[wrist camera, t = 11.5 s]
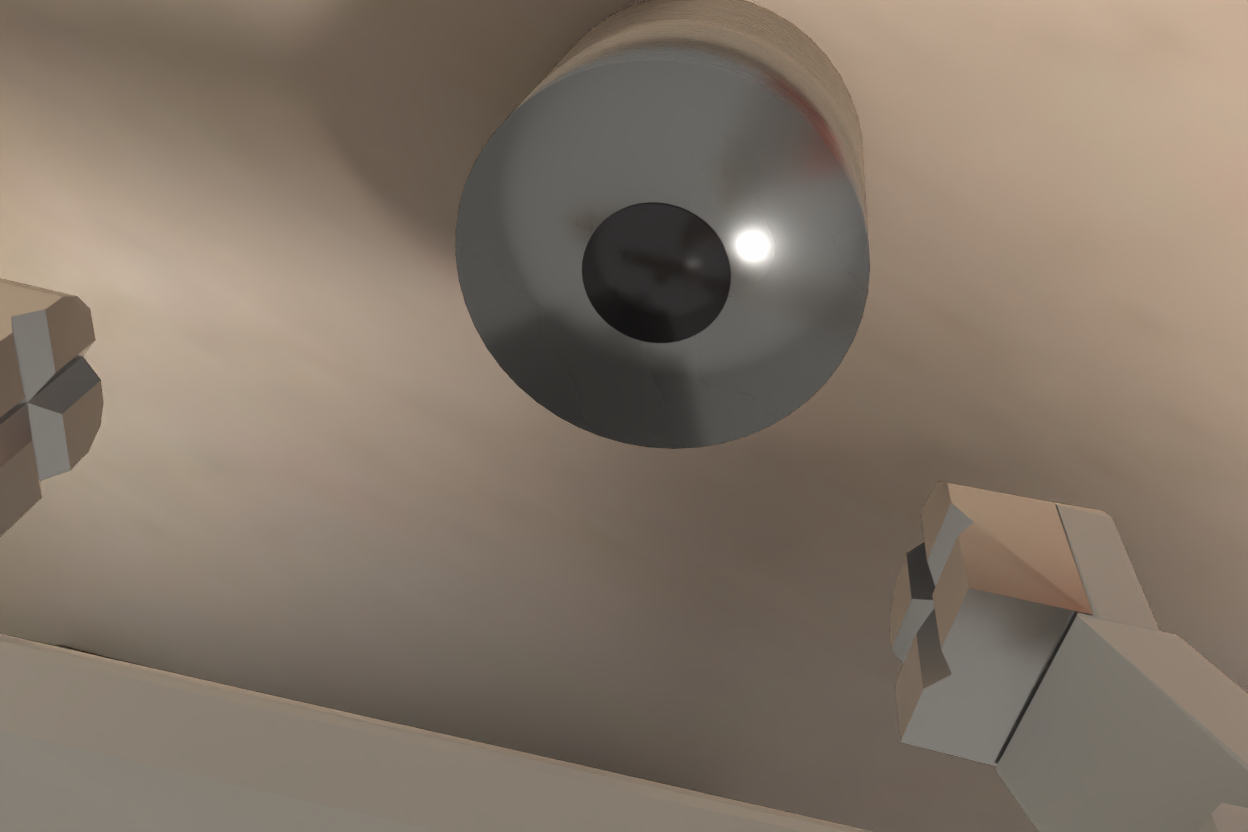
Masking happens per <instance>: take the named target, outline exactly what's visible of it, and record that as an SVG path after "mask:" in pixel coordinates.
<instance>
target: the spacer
mask: <svg viewBox="0 0 1248 832" xmlns="http://www.w3.org/2000/svg"><path fill="white" fill-rule="evenodd" d="M456 261H457V269H458V276H459V282H460V285H461V289H462V293H463V297H464V300H465V304H466V306H467V309H468V311H469V314H470V316H471V318H472V321H473V323H474V326H475V328H476V330H477V331H478V333H479V335H480V337H481V338H482V340H483V342H484V344H485V346H486V347H487V349H488V350H489V352H490V353H491V354H492V356H493V357H494V358H495V360H496V361H497V362H498V364H499V365H500V367H501V368H502V369H503V370H504V371H505V372H506V373H507V374H508V375H509V377H510V378H511V379H512V380H513V381H514V382H515V383H516V384H517V385H518V386H519V387H520V388H521V389H522V390H524V391H525V392H526V393H527V394H528V395H529V396H531V397H532V398H533V399H534V400H535V401H536V402H538V403H539V404H541V405H542V406H544V407H545V408H546V409H548V410H549V411H551V412H552V413H554V414H555V415H557V416H558V417H560V418H562V419H564V420H566V421H568V422H570V423H572V424H573V425H575V426H577V427H579V428H582V429H584V430H587V431H589V432H592V433H594V434H596V435H599V436H601V437H605V438H608V439H612V440H616V441H619V442H623V443H627V444H633V445H639V446H645V447H653V448H671V449H677V448H696V447H703V446H709V445H715V444H721V443H725V442H728V441H732V440H735V439H739V438H742V437H746V436H748V435H750V434H753V433H755V432H757V431H760V430H762V429H764V428H767V427H769V426H771V425H772V424H774V423H776V422H777V421H779V420H781V419H783V418H784V417H786V416H788V415H789V414H791V413H792V412H793V411H795V410H796V409H797V408H799V407H800V406H801V405H802V404H804V403H805V402H806V401H808V400H809V399H810V398H811V397H812V396H813V395H814V394H815V393H816V392H817V391H818V390H819V389H820V388H821V387H822V386H823V385H824V384H825V383H826V382H827V380H828V379H829V378H830V376H831V375H832V374H833V372H834V371H835V370H836V368H837V367H838V366H839V365H840V363H841V362H842V360H843V358H844V356H845V354H846V353H847V351H848V349H849V347H850V346H851V344H852V342H853V340H854V337H855V334H856V332H857V329H858V327H859V324H860V322H861V319H862V315H863V311H864V307H865V303H866V298H867V294H868V283H869V271H870V262H869V245H868V229H867V212H866V196H865V179H864V163H863V147H862V135H861V130H860V126H859V121H858V116H857V113H856V110H855V107H854V104H853V101H852V99H851V96H850V93H849V91H848V89H847V88H846V86H845V84H844V82H843V80H842V78H841V76H840V74H839V73H838V71H837V70H836V68H835V67H834V66H833V64H832V63H831V61H830V60H829V58H828V57H827V56H826V54H825V53H824V52H823V51H822V50H821V49H820V48H819V47H818V46H817V45H816V44H815V43H814V42H813V41H812V40H811V38H809V37H808V36H807V35H806V34H804V33H803V32H802V31H801V30H799V29H798V28H797V27H796V26H795V25H793V24H792V23H790V22H789V21H787V20H785V19H784V18H782V17H780V16H779V15H777V14H775V13H774V12H772V11H770V10H767V9H765V8H763V7H760V6H758V5H756V4H753V3H751V2H748V1H744V0H646V1H643V2H640V3H637V4H634V5H632V6H630V7H628V8H626V9H623V10H621V11H619V12H617V13H615V14H613V15H612V16H610V17H609V18H607V19H606V20H604V21H603V22H601V23H599V24H598V25H596V26H595V27H594V28H593V29H592V30H591V31H590V32H588V33H587V34H586V35H585V36H584V37H583V38H581V39H580V40H579V41H578V42H577V43H576V45H575V46H574V47H573V48H572V49H571V50H570V51H569V52H568V53H567V54H566V55H565V56H564V57H563V59H562V60H561V61H560V62H559V63H558V64H557V65H556V66H555V67H554V68H553V69H552V70H551V71H550V72H549V74H548V75H547V76H546V77H545V78H544V79H543V80H542V81H541V82H540V83H539V84H538V85H537V86H536V87H535V89H534V90H533V91H532V92H531V93H530V94H529V95H528V96H527V97H526V98H525V99H524V100H523V101H522V103H521V104H520V105H519V106H518V107H517V108H516V109H515V110H514V111H513V112H512V113H511V114H510V115H509V116H508V118H507V119H506V120H505V121H504V122H503V123H502V125H501V126H500V127H499V128H498V129H497V130H496V131H495V133H494V134H493V135H492V136H491V137H490V139H489V140H488V142H487V144H486V145H485V147H484V148H483V150H482V151H481V153H480V154H479V156H478V158H477V159H476V161H475V164H474V166H473V168H472V170H471V173H470V175H469V177H468V179H467V181H466V185H465V188H464V191H463V195H462V198H461V202H460V205H459V212H458V219H457V226H456Z"/></svg>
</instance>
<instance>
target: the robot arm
mask: <svg viewBox="0 0 1248 832" xmlns="http://www.w3.org/2000/svg"><path fill="white" fill-rule="evenodd" d="M94 341H95V334H94V328H93V323H92V317H91V311H90V308H89V307H88V306H87V305H86V304H85V303H84V302H83V301H82V300H81V299H80V298H79V297H78V296H74V295H69V294H65V293H61V292H57V291H52V290H48V289H44V288H39V287H35V286H31V285H27V284H22V283H18V282H14V281H9V280H5V279H1V278H0V537H1V536H2V535H3V534H4V533H5V532H6V531H7V530H8V529H9V528H10V527H11V526H13V525H14V524H15V523H16V522H17V521H18V520H19V519H20V518H21V517H22V516H23V515H24V514H25V513H26V512H27V511H28V510H29V509H30V508H31V507H33V506H34V505H35V504H36V503H37V502H38V501H39V500H40V499H41V498H42V495H41V482H40V481H41V480H43V479H46V478H49V477H52V476H55V475H58V474H61V473H64V472H67V471H70V470H71V469H72V468H73V467H74V466H75V465H76V464H77V463H78V462H79V461H80V460H81V459H82V458H83V457H84V456H85V455H86V454H87V453H88V452H89V449H90V447H91V445H92V443H93V441H94V439H95V436H96V434H97V432H98V430H99V428H100V426H101V417H102V409H103V395H102V386H101V380H100V378H99V377H98V376H97V374H96V373H95V372H94V370H93V369H92V368H91V367H90V365H89V364H88V363H87V361H86V360H85V359H84V357H83V356H84V354H85V353H86V352H87V350H88V349H89V348H90V346H91V345H92V344H93V343H94ZM921 521H922V528H923V535H924V543H922V544H921V545H919V546H917V547H916V548H914V549H913V550H911V551H910V552H908V553H906V556H905V559H904V562H903V564H902V567H901V570H900V573H899V576H898V578H897V581H896V586H895V591H894V596H893V600H892V605H891V613H890V641H891V650H892V652H893V653H894V654H895V655H896V656H897V657H898V659H899V660H900V661H901V662H902V663H903V667H902V669H901V672H900V674H899V676H898V679H897V681H896V684H895V694H896V703H897V713H898V722H899V732H900V741H901V743H905V744H909V745H913V746H917V747H921V748H925V749H929V750H933V751H937V752H941V753H945V754H949V755H953V756H957V757H961V758H965V759H969V760H973V761H977V762H981V763H985V764H989V765H993V766H997V767H996V769H995V771H996V773H997V774H998V775H999V777H1000V778H1001V780H1002V781H1003V783H1004V784H1005V785H1006V787H1007V788H1008V790H1009V791H1010V792H1011V794H1012V795H1013V797H1014V798H1015V799H1016V801H1017V802H1018V804H1019V805H1020V807H1021V808H1022V809H1023V811H1024V812H1025V814H1026V815H1027V816H1028V818H1029V819H1030V821H1031V822H1032V823H1033V825H1034V826H1035V828H1036V829H1037V831H1038V832H1248V693H1247V692H1245V691H1244V690H1243V689H1242V688H1241V687H1239V686H1238V685H1237V684H1236V683H1235V682H1233V681H1232V680H1231V679H1230V678H1229V677H1227V676H1226V675H1225V674H1224V673H1223V672H1221V671H1220V670H1219V669H1218V668H1217V667H1215V666H1214V665H1213V664H1212V663H1211V662H1209V661H1208V660H1207V659H1206V658H1205V657H1203V656H1202V655H1201V654H1200V653H1199V652H1197V651H1196V650H1195V649H1194V648H1193V647H1191V646H1190V645H1189V644H1188V643H1186V642H1185V641H1184V640H1183V639H1182V638H1180V637H1179V636H1178V635H1177V634H1172V633H1168V632H1163V631H1159V628H1158V626H1157V624H1156V621H1155V619H1154V616H1153V614H1152V612H1151V609H1150V607H1149V605H1148V602H1147V600H1146V597H1145V595H1144V593H1143V590H1142V588H1141V585H1140V583H1139V581H1138V578H1137V576H1136V573H1135V571H1134V569H1133V566H1132V564H1131V561H1130V559H1129V557H1128V554H1127V552H1126V550H1125V547H1124V545H1123V542H1122V540H1121V538H1120V535H1119V533H1118V530H1117V528H1116V526H1115V523H1114V521H1113V519H1112V517H1110V516H1109V515H1108V514H1107V513H1105V512H1104V511H1101V510H1096V509H1090V508H1084V507H1078V506H1073V505H1067V504H1061V503H1055V502H1050V501H1043V500H1038V499H1032V498H1027V497H1022V496H1016V495H1011V494H1006V493H1000V492H995V491H990V490H984V489H979V488H974V487H968V486H963V485H958V484H952V483H947V482H941V481H938V483H937V484H936V486H935V487H934V489H933V490H932V492H931V493H930V495H929V498H928V500H927V503H926V505H925V507H924V510H923V512H922V515H921ZM0 832H874V831H869V830H865V829H860V828H856V827H852V826H847V825H843V824H838V823H834V822H830V821H825V820H821V819H816V818H812V817H808V816H803V815H799V814H794V813H790V812H786V811H781V810H777V809H772V808H768V807H764V806H759V805H755V804H750V803H746V802H741V801H737V800H733V799H728V798H724V797H719V796H715V795H711V794H706V793H702V792H697V791H693V790H689V789H684V788H680V787H675V786H671V785H667V784H662V783H658V782H653V781H649V780H645V779H640V778H636V777H631V776H627V775H623V774H618V773H614V772H609V771H605V770H600V769H596V768H592V767H587V766H583V765H578V764H574V763H570V762H565V761H561V760H556V759H552V758H548V757H543V756H539V755H534V754H530V753H526V752H521V751H517V750H512V749H508V748H504V747H499V746H495V745H490V744H486V743H481V742H477V741H473V740H468V739H464V738H459V737H455V736H451V735H446V734H442V733H437V732H433V731H428V730H424V729H420V728H415V727H411V726H406V725H402V724H397V723H393V722H388V721H384V720H379V719H375V718H371V717H366V716H362V715H357V714H353V713H348V712H344V711H339V710H335V709H330V708H326V707H322V706H317V705H313V704H308V703H304V702H299V701H295V700H290V699H286V698H281V697H277V696H273V695H268V694H264V693H259V692H255V691H251V690H246V689H242V688H237V687H233V686H228V685H224V684H220V683H215V682H211V681H206V680H202V679H198V678H193V677H189V676H184V675H180V674H176V673H171V672H167V671H162V670H158V669H154V668H149V667H145V666H140V665H136V664H131V663H127V662H123V661H118V660H114V659H109V658H105V657H101V656H96V655H92V654H87V653H83V652H79V651H74V650H70V649H65V648H61V647H57V646H52V645H48V644H43V643H39V642H34V641H30V640H26V639H21V638H17V637H12V636H8V635H4V634H0Z"/></svg>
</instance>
